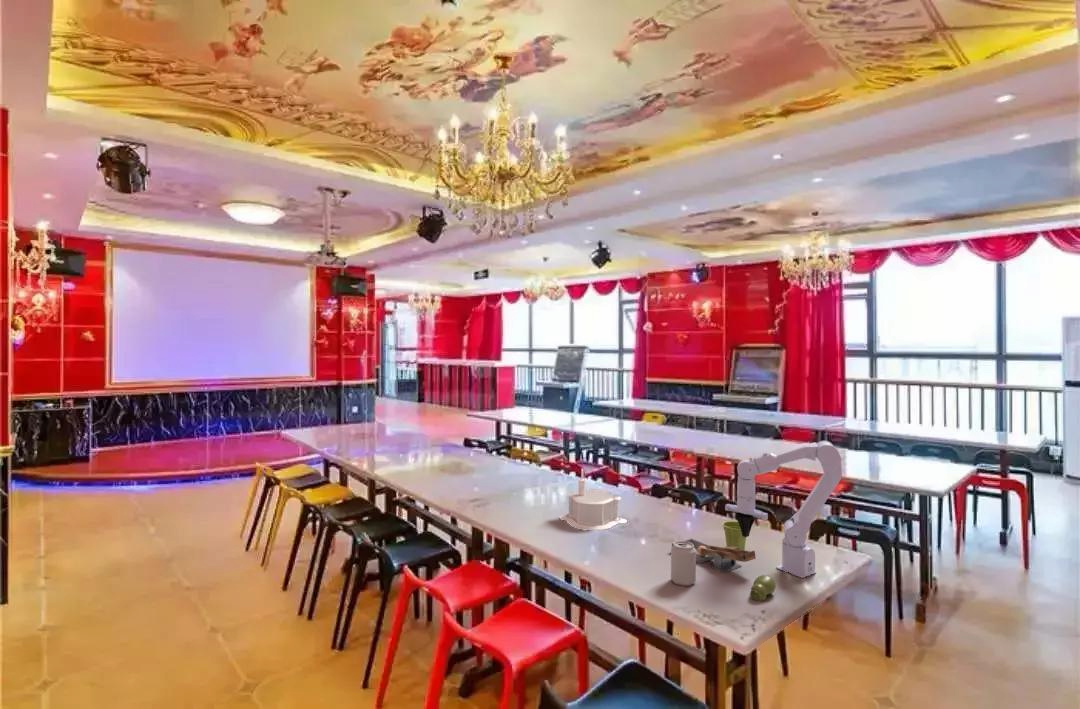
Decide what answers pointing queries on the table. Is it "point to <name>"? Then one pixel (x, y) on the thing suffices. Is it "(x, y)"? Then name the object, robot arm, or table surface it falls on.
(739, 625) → the table surface
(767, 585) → the pear
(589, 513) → the birthday cake
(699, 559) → the tray
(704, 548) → the ball
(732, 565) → the fulcrum
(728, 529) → the plant pot
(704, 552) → the plank
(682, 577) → the can
